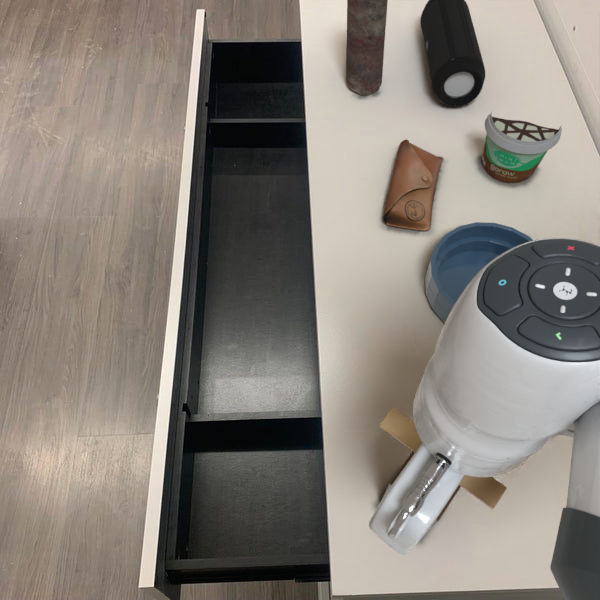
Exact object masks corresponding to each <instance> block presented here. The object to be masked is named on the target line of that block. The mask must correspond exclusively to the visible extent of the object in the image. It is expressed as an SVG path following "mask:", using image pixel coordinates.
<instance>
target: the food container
mask: <svg viewBox="0 0 600 600" xmlns="http://www.w3.org/2000/svg"><path fill="white" fill-rule="evenodd" d="M492 114H493V111H492V110H491V112H490V114H488V115H487V117H486V118H485V120H484V130H485V132H486V135H485V141H484V145H483V151H482V156H481V165H482V168H483V170H484V171H485V173H486V174H487V175H488V176H489V177H491V178H492V179H494V180H495V181H498V182H501V183H504V184H519V183H523V182H525V181H527V180H529V179H530V178H531V177H532V176H533V175H534V173H535V171H536V170H537V168H538V167H539V165H540V164H541V162H542V160H543V159H544V157H545V156H546V154H547V153H548V151H550V150H551V149H553V147H555V146H556V145H557V144H558V143H559V141H560V140H561V136H562V131H563V128H562V126H563V125H562V124H561V125H560V127H559V128H551V127H545V126H542V125H538V124H535V123H532V122H530V121H525V120H518V119H517V120H515V119H505V118H500V117H495V116H493V115H492Z"/></svg>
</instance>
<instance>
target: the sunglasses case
mask: <svg viewBox="0 0 600 600" xmlns="http://www.w3.org/2000/svg"><path fill="white" fill-rule="evenodd" d="M443 162H444V157H443V156H437V155H435V154H433V153H431V152H429V151H427V150H425V149H423V148H422V147H420V146H417V145H415V144H413V143H412V142H410V141H409V139H404V140H402V141H401V142H400V143H399V145H398V150H397V152H396V156H395V161H394V165H393V169H392V173H391V178H390V182H389V186H388V190H387V193H386V194H387V195H386V199H385V203H384V207H383V212H382V221H383V223H384V224H385V225H386V226H387V227H393V228H397V229H402V230H410V231H417V232H418V231H419V232H428V231H430V230H431V227H432V216H433V207H434V201H435V194H436V190H437V184H438V179H439V176H440V170H441V168H442V164H443Z"/></svg>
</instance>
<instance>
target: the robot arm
mask: <svg viewBox="0 0 600 600" xmlns="http://www.w3.org/2000/svg"><path fill="white" fill-rule="evenodd" d="M412 417H413V421H414V424H415V427H416V430H417V433H418V435H419V437H420V439H421V441H422V444H421V445H420V447H419V448H418V450H417V451H416V452H415V454H414V455H413V456H412V458H411V459H410V461H409V462H408V463H407V465H406V466H405V468H404V469H403V470H402V472H401V473H400V474H399V476H398V477H397V479H396V480H395V481H394V483H393V484H392V486H391V487H390V489H389V490H388V491H387V493H386V494H385V493H384V494H385V496H384V495H383V496H384V497H383V496H382V498H383V499H382V498H381V500H382V501H381V500H380V502H379V504H378V505H377V507H376V509H375V510H374V512H373V514H372V516H371V518H370V519H369V521H368V527H369V529H370V531H371V532H373V534H374V535H376V536H377V537H378V538H379V539H380V540H381V541H382V542H383V543H385V544H386V545H387V546H388V547H389V548H391V549H392V550H393V551H395V552H396V553H397V554H398V555H401V556H406V555H407V554H409V553H410V552H411V551H412V550H413V549H414V548H415V546H417V544H418V543H419V542H420V541H421V540H422V538H423V537H424V536H425V535H426V534H427V533H428V531H429V530H430V529H431V528H432V527H433V526H432V524H433V523H434V522H435V520H436V519H437V517H438V516H439V514H440V513H441V511H442V510H443V508H444V507H445V505H446V504H447V502H448V501H449V499H450V498H451V496H452V495H453V493H454V492H455V490H456V489H457V487H458V486H459V484H460V483H461V481H462V480H463V478H464V477H465V475H468V476H473V477H493V478H494V477H498V476H501V475H504V474H508V473H510V472H511V471H513V470H515V469H516V468H517V467H518V466H520V465H521V464H522V463H523V462H524V461H526V460H527V459H529V458H530V457H531V456H533V455H534V454H536V453H537V452H538V451H539V450H540V449H542V448H543V447H544V446H545V445H547V443H548V442H549V441H550V440H552V439H553V438H555V437H557V436H566V437H570V438H572V447H571V448H572V449H571V459H570V466H569V467H570V468H569V476H568V486H567V494H566V495H567V496H566V504H565V507H563V508H562V510H561V515H560V520H559V525H558V529H557V534H556V538H555V539H556V540H555V544H554V549H553V553H552V558H551V562H550V566H549V567H550V568H549V569H550V571H551V573H552V576H553V578H554V580H555V581H556V582H555V583H556V584H557V586H558V589H559V590H560V592H561V594H562V596H563V598H564V599H565V600H600V245H599V244H596V243H593V242H590V241H587V240H582V239H576V238H571V237H546V238H545V237H544V238H539V239H533V241H530V242H526V243H523V244H521V245H518V246H516V247H514V248H511V249H509V250H508V251H506V252H504V253H502V254H500V255H499V256H497V257H496V258H494V259H493V260H492V261H490V262H489V263H488V264H486V265H485V266H484V267H483V268H482V269H481V270H480V271H479V272H478V273H477V274H476V275H475V277H474V278H473V279H472V280H471V281H470V283H469V284H468V285H467V287H466V288H465V289H464V291H463V292H462V294H461V295H460V297H459V298H458V300H457V301H456V303H455V305H454V306H453V308H452V310H451V312H450V314H449V316H448V318H447V320H446V322H445V323H444V324H443V326H442V328H441V331H440V333H439V335H438V338H437V341H436V345H435V350H434V353H433V355H432V356H431V358H430V359H429V361H428V362H427V364H426V367H425V370H424V372H423V375H422V377H421V380H420V382H419V384H418V387H417V389H416V391H415V395H414V398H413V403H412ZM431 526H432V527H431ZM430 527H431V528H430Z"/></svg>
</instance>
